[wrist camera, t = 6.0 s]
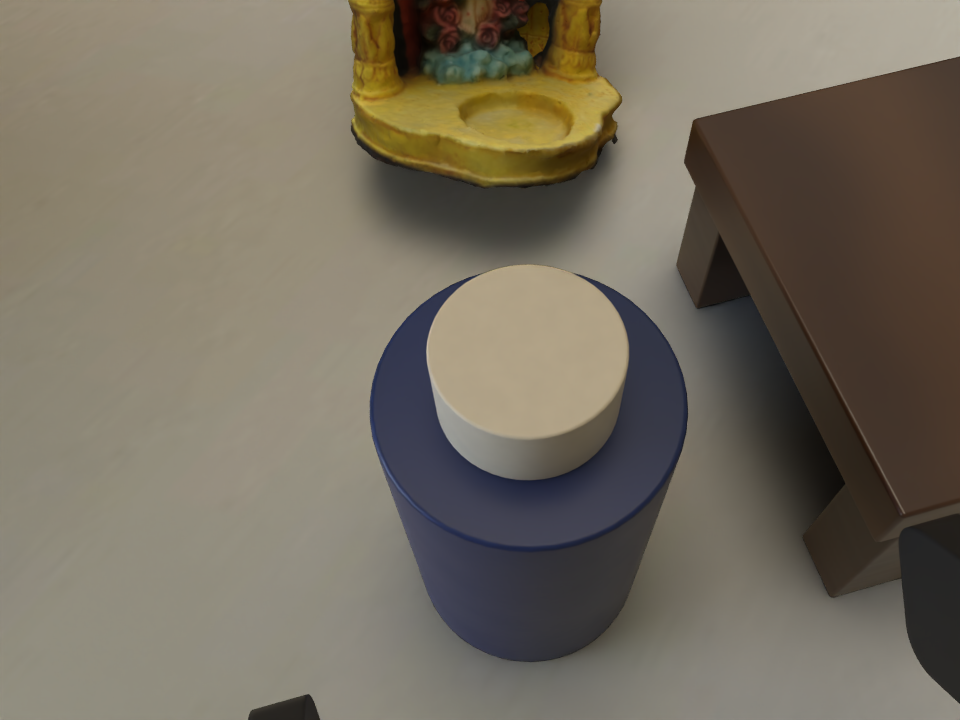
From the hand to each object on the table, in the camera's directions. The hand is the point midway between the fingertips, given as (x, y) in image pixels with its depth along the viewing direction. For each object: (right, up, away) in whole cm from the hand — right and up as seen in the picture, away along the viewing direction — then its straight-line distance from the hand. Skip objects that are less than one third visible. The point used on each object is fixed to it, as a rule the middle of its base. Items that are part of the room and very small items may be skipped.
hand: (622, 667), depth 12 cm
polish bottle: (-1, -1, +10) cm, 10 cm away
